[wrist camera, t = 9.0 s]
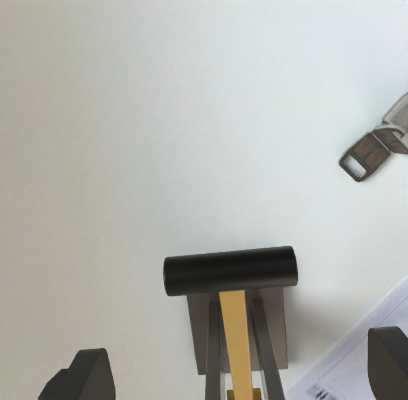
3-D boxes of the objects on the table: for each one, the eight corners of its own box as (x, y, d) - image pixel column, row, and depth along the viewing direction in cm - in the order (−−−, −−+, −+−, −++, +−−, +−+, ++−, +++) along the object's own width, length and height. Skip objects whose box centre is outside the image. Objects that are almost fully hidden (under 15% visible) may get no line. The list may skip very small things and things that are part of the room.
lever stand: (183, 261, 34) (161, 366, 20) (278, 253, 33) (320, 355, 20) (198, 366, 37) (188, 517, 23) (285, 360, 36) (325, 511, 23)
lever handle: (165, 243, 16) (160, 285, 14) (288, 232, 16) (301, 272, 14) (207, 411, 25) (207, 449, 23) (284, 405, 25) (291, 444, 23)
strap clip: (413, 84, 29) (445, 81, 25) (437, 110, 29) (473, 111, 25) (334, 160, 30) (352, 169, 26) (357, 184, 31) (379, 196, 27)
